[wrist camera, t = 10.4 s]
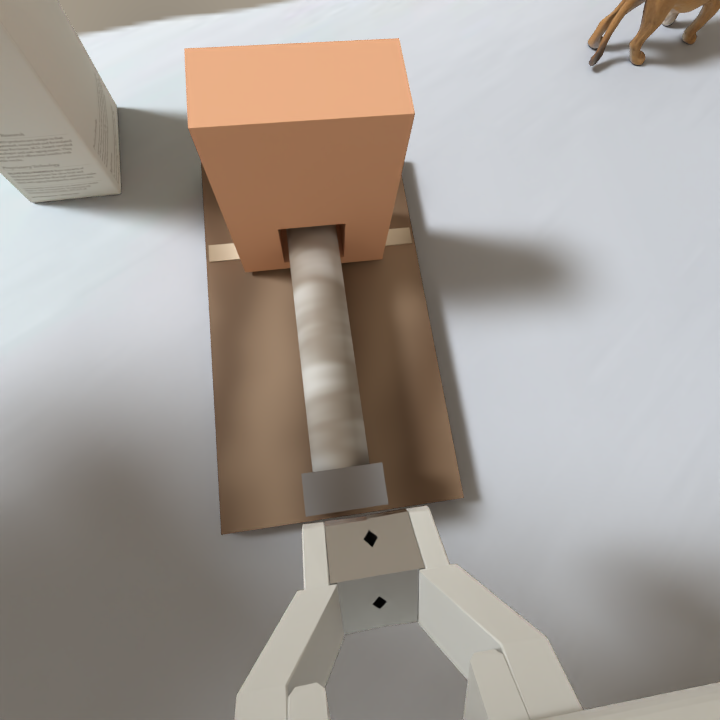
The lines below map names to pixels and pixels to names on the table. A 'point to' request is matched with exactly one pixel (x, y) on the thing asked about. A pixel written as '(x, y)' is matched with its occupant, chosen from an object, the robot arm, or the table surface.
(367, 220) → the notched orange block
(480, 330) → the table surface
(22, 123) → the skincare box
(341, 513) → the pipe stand
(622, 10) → the lion figurine
